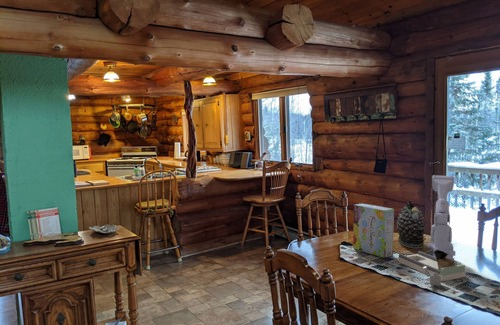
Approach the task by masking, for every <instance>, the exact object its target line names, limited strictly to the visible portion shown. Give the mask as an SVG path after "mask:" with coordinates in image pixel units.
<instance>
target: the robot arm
mask: <svg viewBox="0 0 500 325" xmlns="http://www.w3.org/2000/svg"><path fill="white" fill-rule="evenodd" d="M431 177H432V181H431V186H432V191H434V192H436V194H437V200H436V202H435V213H434V216H433V217H434V218H433V221H434V222H433V223H434V224H432V225H431V227H430V228H431V230H430V241H432V242H428V243H427V248H428V249H429V248H431V249H432V251H433V252H432V256H434V257H436V258H437V262H438V261H439V259H443V258H448V259H451V260H454V261H455V258H454V256H456V251H455V250H454V245H453V243H452V241H453V240H452V239H453V238H452V237H453V231H452V230H453V229H452V226H450V224H451V214H450V202H449V201H448V198H447V197H448V194H449V193H450V192H452V191H453V190H454V186H455V185H454V184H455V183H454V182H455V178H454V177H455V176H453V175H435V174H433V175H432V176H431Z"/></svg>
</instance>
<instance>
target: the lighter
mask: <svg viewBox="0 0 500 325" xmlns="http://www.w3.org/2000/svg"><path fill="white" fill-rule="evenodd" d="M423 268H424V270H425V272H426V274H425V275H426V276H427V277H429V285H430V286H434V285H436V287H441V282H442V281H441V276H440V275H439V274H438V273H433V274H430V273H429V271H428V269H427V267H426V266H425V267H423Z"/></svg>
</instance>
